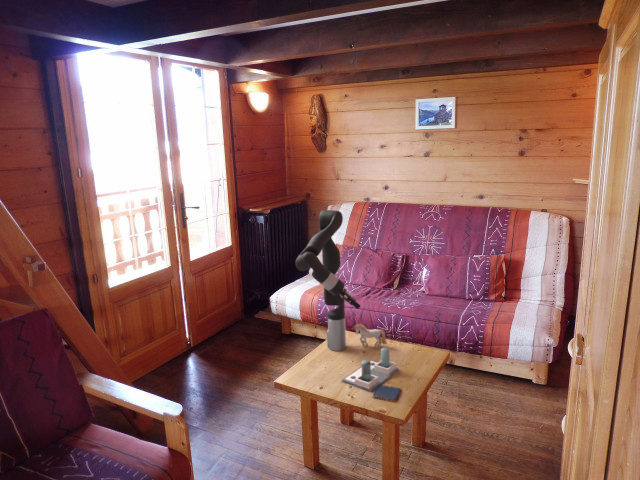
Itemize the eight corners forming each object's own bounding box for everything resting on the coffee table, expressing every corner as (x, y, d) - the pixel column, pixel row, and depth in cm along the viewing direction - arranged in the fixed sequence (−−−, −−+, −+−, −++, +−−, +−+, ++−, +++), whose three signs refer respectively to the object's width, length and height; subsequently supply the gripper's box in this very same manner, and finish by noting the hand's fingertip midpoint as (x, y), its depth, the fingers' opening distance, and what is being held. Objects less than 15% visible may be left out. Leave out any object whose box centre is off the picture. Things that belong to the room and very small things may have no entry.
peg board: (342, 381, 209) (341, 359, 207) (370, 361, 227) (370, 341, 225) (371, 392, 199) (370, 369, 197) (398, 370, 217) (398, 349, 215)
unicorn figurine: (349, 346, 247) (348, 322, 244) (383, 342, 250) (383, 319, 247) (352, 351, 240) (351, 327, 237) (387, 347, 243) (387, 324, 240)
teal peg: (360, 383, 205) (359, 362, 203) (365, 379, 208) (364, 359, 206) (367, 386, 203) (367, 365, 201) (372, 382, 206) (372, 361, 204)
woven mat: (396, 404, 190) (396, 399, 190) (372, 399, 195) (372, 395, 194) (402, 391, 200) (402, 387, 199) (379, 387, 204) (379, 383, 204)
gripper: (340, 281, 204) (366, 303, 208) (334, 273, 218) (358, 294, 222) (329, 294, 204) (355, 315, 208) (323, 285, 218) (347, 305, 222)
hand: (356, 304), depth 215 cm, fingers open, 8 cm apart
